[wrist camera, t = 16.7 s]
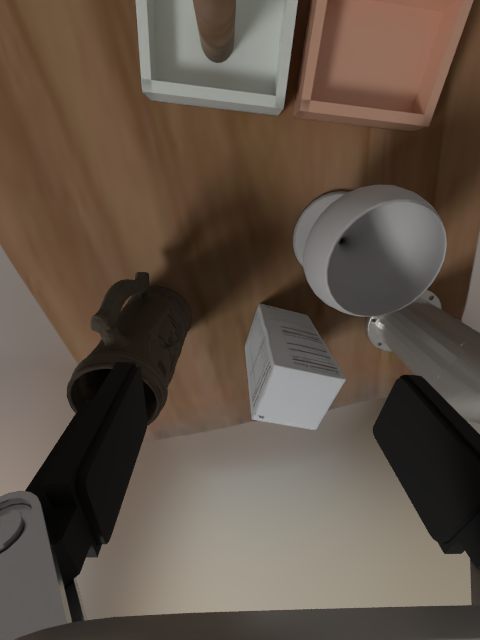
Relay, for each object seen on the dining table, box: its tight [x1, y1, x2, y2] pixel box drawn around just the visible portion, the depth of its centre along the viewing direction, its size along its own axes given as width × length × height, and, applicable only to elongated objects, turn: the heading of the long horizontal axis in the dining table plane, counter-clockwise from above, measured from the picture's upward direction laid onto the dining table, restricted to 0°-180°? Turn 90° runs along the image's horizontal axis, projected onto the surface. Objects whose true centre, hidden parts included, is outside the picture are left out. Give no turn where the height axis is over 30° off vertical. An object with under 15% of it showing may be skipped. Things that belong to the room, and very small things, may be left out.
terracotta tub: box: [293, 0, 473, 132], centre depth 28 cm, size 15×11×4 cm
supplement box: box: [245, 304, 346, 430], centre depth 39 cm, size 10×9×17 cm
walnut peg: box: [193, 0, 236, 63], centre depth 24 cm, size 4×4×8 cm
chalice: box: [293, 185, 447, 317], centre depth 32 cm, size 14×14×15 cm
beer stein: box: [67, 272, 191, 426], centre depth 34 cm, size 15×11×20 cm
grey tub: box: [136, 0, 298, 116], centre depth 27 cm, size 15×11×4 cm
